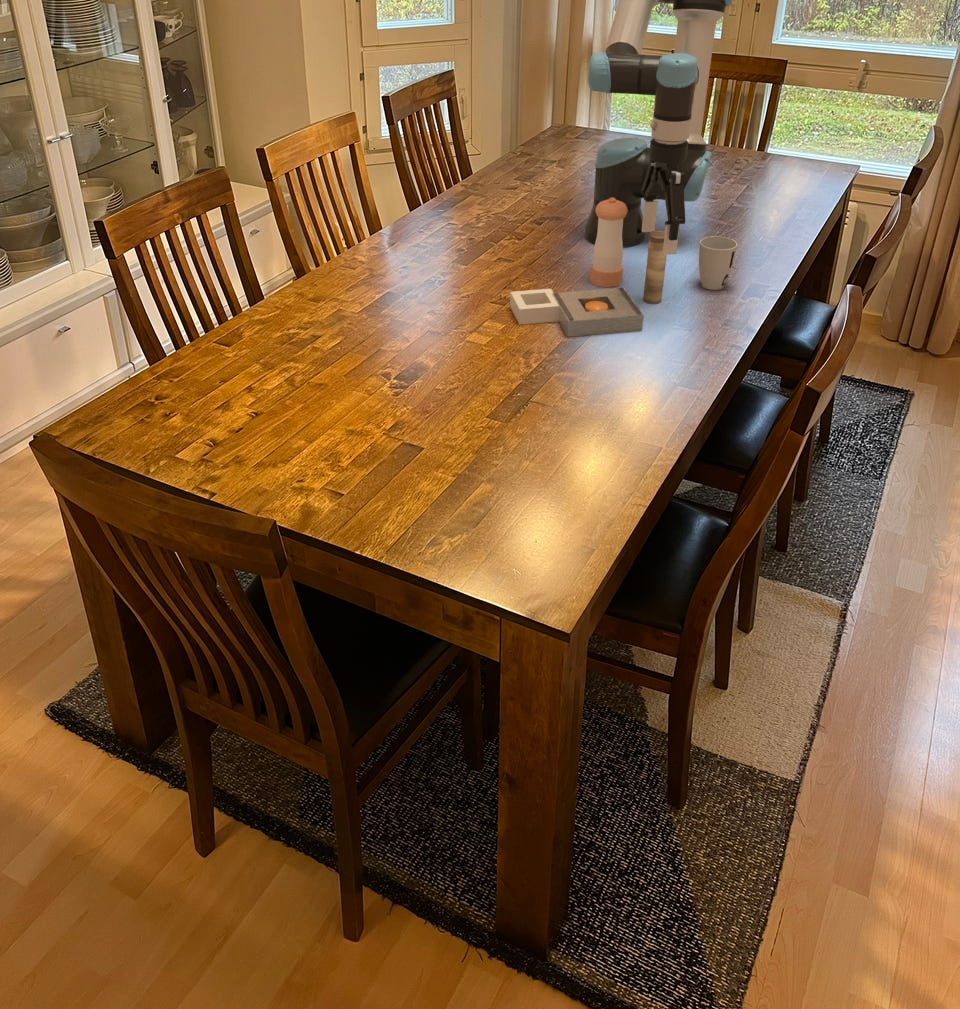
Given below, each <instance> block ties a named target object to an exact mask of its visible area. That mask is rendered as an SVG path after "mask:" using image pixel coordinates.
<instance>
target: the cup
mask: <svg viewBox="0 0 960 1009" xmlns="http://www.w3.org/2000/svg"><path fill="white" fill-rule="evenodd" d="M737 248H738V242H737V241H735V240H734V239H732V238H729V237H725V236H719V235H718V236H717V235H713V236H706V237H703V238H702V239H700V240H699V248H698V249H699V251H698V252H699V253H698V270H699V271H698V272H699V273H698V274H699V279H700V285H701V287H702V288H704V289H706V290H711V291H718V290H722V289H724V287H725V285H726V283H727V282H728V279H729V277H730V275H731V271H732V268H733V265H734V261H735V258H736V252H737Z"/></svg>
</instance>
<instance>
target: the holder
mask: <svg viewBox="0 0 960 1009" xmlns="http://www.w3.org/2000/svg"><path fill="white" fill-rule="evenodd" d="M552 293H553V294H552ZM554 293H555V292H554V291H553V289H552V288H541V289H530V290H516V291H510V294H509V295H510V298H509V300H510V302H509V303H510V304H509V305H510V306H509V307H510V309H511V311H512V313H513V315H514V318H515V319H516V321H517V323H518V325H520V326H521V324H522V325H530V324H531V325H532V324H543V323H544V324H545V323H555V322H556V323H557V322H559V305H560V303H559V305H558V301H557V298H556V297H553V296H555V295H554Z"/></svg>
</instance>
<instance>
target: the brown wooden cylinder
mask: <svg viewBox="0 0 960 1009" xmlns="http://www.w3.org/2000/svg"><path fill="white" fill-rule="evenodd" d="M664 236H665V230H655V231H652V232H649V237H648V247H647V248H648V250H647V259H646V267H645V269H646V270H645V278H644V287H643V288H644V289H643V297H642V301H643V302H645V303H646V304H649V305H656V304H657V305H658V304H660V303H662V299H663V298H662V297H663V289H664V282H665V281H664V280H665V271H666V265H667V264H666V263H667V256H668V255H663V245H664Z"/></svg>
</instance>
